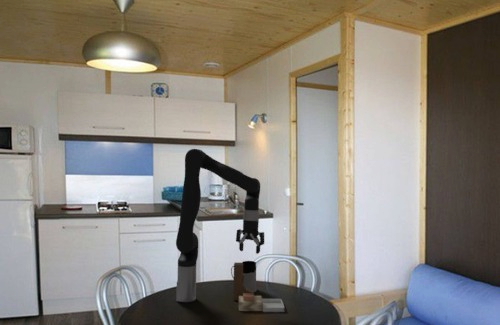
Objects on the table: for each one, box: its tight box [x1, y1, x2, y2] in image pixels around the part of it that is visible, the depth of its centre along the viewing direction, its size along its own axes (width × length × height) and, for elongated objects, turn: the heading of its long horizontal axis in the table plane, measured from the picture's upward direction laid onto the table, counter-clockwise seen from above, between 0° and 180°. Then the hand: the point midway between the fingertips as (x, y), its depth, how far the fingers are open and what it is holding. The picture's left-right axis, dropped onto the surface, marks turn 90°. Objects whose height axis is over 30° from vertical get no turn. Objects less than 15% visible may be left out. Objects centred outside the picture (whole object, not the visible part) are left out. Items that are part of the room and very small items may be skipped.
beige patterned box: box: [238, 295, 263, 312], centre depth 182 cm, size 11×9×4 cm
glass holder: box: [230, 260, 257, 293], centre depth 207 cm, size 9×14×15 cm, turn 102°
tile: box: [243, 292, 255, 301], centre depth 182 cm, size 5×5×2 cm
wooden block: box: [232, 262, 252, 302], centre depth 193 cm, size 9×4×18 cm, turn 89°
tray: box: [262, 298, 286, 313], centre depth 183 cm, size 10×12×2 cm
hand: (249, 252), depth 187 cm, fingers open, 8 cm apart
